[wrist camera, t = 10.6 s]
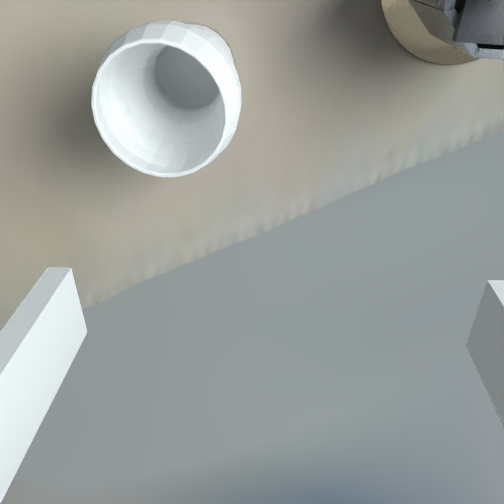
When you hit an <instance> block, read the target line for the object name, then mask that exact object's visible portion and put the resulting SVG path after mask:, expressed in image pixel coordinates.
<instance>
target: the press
mask: <svg viewBox="0 0 504 504" xmlns="http://www.w3.org/2000/svg"><path fill="white" fill-rule="evenodd" d="M455 1H456V0H381V6H382V10H383V14H384V18H385V20H386V23H387V25H388V27H389V29H390V31H391V32H392V34H393V36H394V37H395V38H396V40H397V41H398V42H399V43H400V44H401V45H402V46H403V47H404V48H405V49H406V50H408V51H409V52H411V53H412V54H413V55H415V56H417V57H419V58H421V59H423V60H426V61H429V62H432V63H438V64H460V63H466V62H470V61H474V60H477V59H479V58H488V59H503V60H504V0H462V2H461V6H460V10H459V13H457V12H456V10H455V8H454V5H455Z"/></svg>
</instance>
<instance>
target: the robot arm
mask: <svg viewBox="0 0 504 504" xmlns="http://www.w3.org/2000/svg"><path fill="white" fill-rule="evenodd" d="M86 334H87V329H86V325H85V322H84V317H83V314H82V309H81V305H80V301H79V297H78V293H77V290H76V286H75V282H74V278H73V274H72V270H71V268H58V267H47V269H46V270H45V272H44V273H43V274H42V276H41V277H40V278H39V280H38V281H37V282H36V284H35V285H34V286H33V288H32V289H31V291H30V292H29V293H28V295H27V296H26V297H25V299H24V300H23V301H22V303H21V304H20V305H19V307H18V308H17V310H16V311H15V312H14V314H13V315H12V316H11V318H10V319H9V320H8V322H7V323H6V325H5V326H4V327H3V329H2V330H1V331H0V503H1V501H2V499H3V497H4V495H5V493H6V491H7V489H8V487H9V485H10V483H11V482H12V480H13V478H14V476H15V474H16V472H17V470H18V468H19V466H20V464H21V462H22V460H23V458H24V456H25V454H26V452H27V450H28V448H29V446H30V444H31V442H32V440H33V438H34V436H35V434H36V432H37V430H38V428H39V426H40V424H41V422H42V420H43V418H44V416H45V414H46V413H47V411H48V408H49V406H50V405H51V403H52V400H53V398H54V397H55V395H56V393H57V391H58V389H59V387H60V385H61V383H62V381H63V379H64V377H65V375H66V373H67V371H68V369H69V367H70V365H71V363H72V361H73V359H74V357H75V355H76V353H77V351H78V349H79V347H80V346H81V344H82V342H83V340H84V338H85V336H86ZM466 347H467V350H468V352H469V354H470V356H471V358H472V360H473V362H474V364H475V366H476V369H477V371H478V373H479V375H480V377H481V380H482V382H483V384H484V386H485V388H486V390H487V392H488V394H489V397H490V399H491V401H492V403H493V405H494V407H495V410H496V412H497V414H498V416H499V418H500V420H501V422H502V424H503V427H504V281H500V280H487V283H486V286H485V289H484V292H483V295H482V298H481V301H480V304H479V307H478V310H477V313H476V316H475V319H474V322H473V325H472V328H471V331H470V334H469V337H468V340H467V343H466Z"/></svg>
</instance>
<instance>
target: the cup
mask: <svg viewBox="0 0 504 504" xmlns="http://www.w3.org/2000/svg"><path fill="white" fill-rule="evenodd" d="M241 106H242V104H241V85H240V82H239V78H238V75H237V72H236V68H235V66H234V61H233V57H232V54H231V51H230V49H229V47H228V46H227V44H226V42H225V41H224V40H223V39H222V38H221V37H220V36H219V35H218V34H217V33H216V32H214V31H213V30H211V29H209V28H208V27H205V26H201V25H198V24H185V23H182V22H178V21H153V22H150V23H147V24H144V25H141V26H138V27H135V28H133V29H131V30H129V31H128V32H126V33H125V34H124V35H122V36H121V37H120V38H118V39H117V40H115V41H114V42H113V43H112V45H111V46H110V48H109V49H108V50H107V52H106V53H105V54H104V56H103V57H102V60H101V63H100V65H99V68H98V71H97V74H96V77H95V80H94V82H93V85H92V97H91V107H92V112H93V117H94V122H95V124H96V126H97V129H98V131H99V133H100V135H101V137H102V139H103V141H104V142H105V143H106V144H107V146H108V147H109V148H110V150H111V151H112V152H113V153H114V154H115V155H116V156H117V157H118V158H120V159H121V160H122V161H123V162H124V163H126V164H127V165H128V166H130V167H132V168H134V169H136V170H138V171H140V172H142V173H145V174H149V175H153V176H157V177H179V176H183V175H187V174H191V173H193V172H195V171H197V170H199V169H200V168H202V167H204V166H206V165H207V164H208V163H210V162H211V161H213V160H214V159H215V158H216V157H217V156H218V155H219V154H220V153H221V152H222V151H223V150H224V149H225V148H226V147H227V146H228V144H229V142H230V140H231V138H232V136H233V135H234V133H235V131H236V127H237V123H238V119H239V114H240V110H241Z"/></svg>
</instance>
